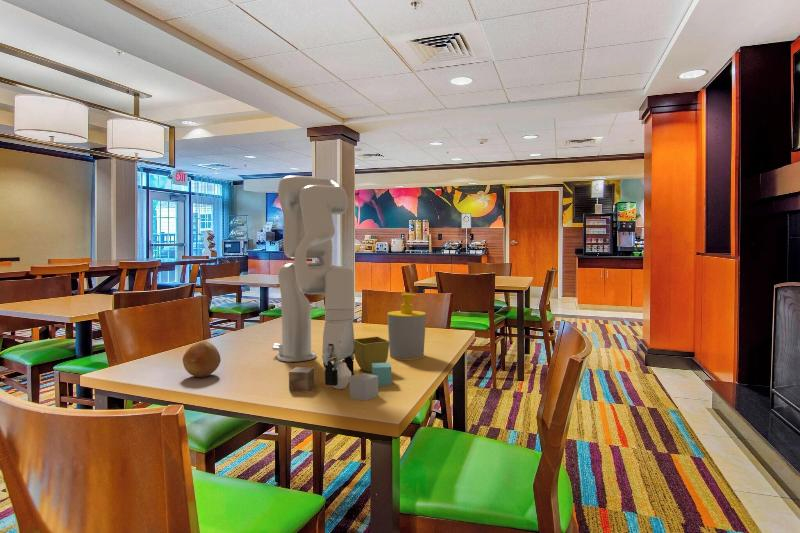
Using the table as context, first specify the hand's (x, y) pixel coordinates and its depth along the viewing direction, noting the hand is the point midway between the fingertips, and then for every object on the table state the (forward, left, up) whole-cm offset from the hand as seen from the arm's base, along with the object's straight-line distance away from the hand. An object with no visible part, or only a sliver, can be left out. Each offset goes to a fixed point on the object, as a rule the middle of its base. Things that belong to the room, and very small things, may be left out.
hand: (339, 379), depth 122 cm
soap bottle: (+6, +39, -2) cm, 40 cm away
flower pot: (+1, +19, -2) cm, 19 cm away
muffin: (0, 0, -2) cm, 2 cm away
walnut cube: (-9, -4, -2) cm, 10 cm away
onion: (-42, -3, -2) cm, 42 cm away
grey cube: (+9, -5, -2) cm, 11 cm away
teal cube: (+9, +7, -2) cm, 12 cm away
